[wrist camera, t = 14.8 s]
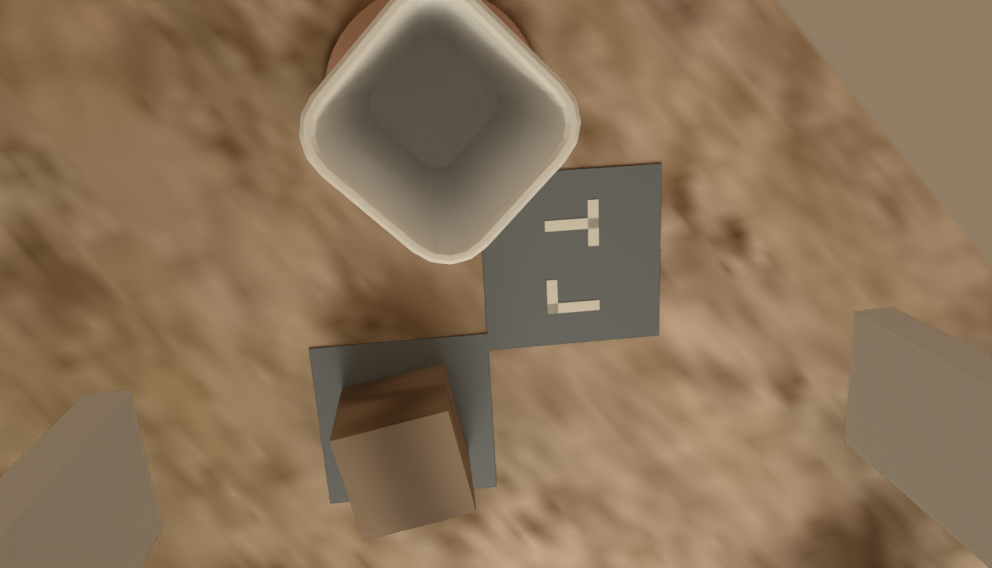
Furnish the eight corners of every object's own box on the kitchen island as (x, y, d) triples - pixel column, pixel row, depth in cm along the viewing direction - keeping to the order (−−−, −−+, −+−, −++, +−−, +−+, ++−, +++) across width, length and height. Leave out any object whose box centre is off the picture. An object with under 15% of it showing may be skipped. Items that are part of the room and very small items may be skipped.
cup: (426, -8, 35) (431, -51, 21) (534, 97, 37) (604, 120, 23) (330, 107, 36) (274, 138, 22) (440, 202, 38) (452, 286, 24)
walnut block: (370, 477, 43) (363, 540, 38) (341, 388, 42) (329, 441, 36) (468, 452, 44) (476, 511, 38) (444, 362, 42) (448, 411, 36)
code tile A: (487, 347, 42) (488, 350, 42) (477, 175, 39) (477, 176, 39) (656, 332, 43) (658, 335, 43) (659, 162, 40) (661, 163, 40)
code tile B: (331, 499, 44) (330, 503, 44) (310, 346, 41) (308, 349, 41) (495, 483, 45) (496, 487, 44) (486, 331, 42) (487, 334, 41)
